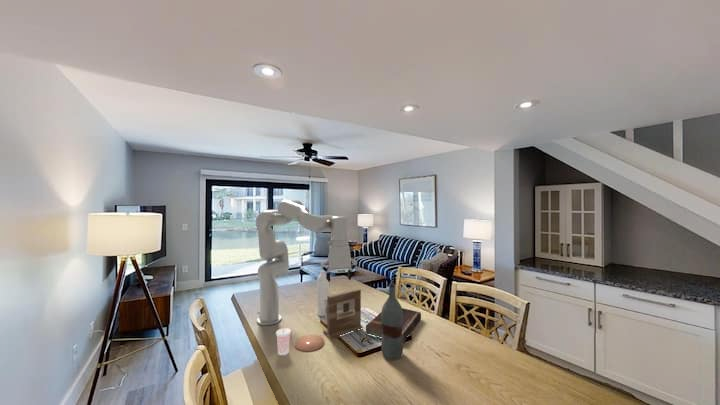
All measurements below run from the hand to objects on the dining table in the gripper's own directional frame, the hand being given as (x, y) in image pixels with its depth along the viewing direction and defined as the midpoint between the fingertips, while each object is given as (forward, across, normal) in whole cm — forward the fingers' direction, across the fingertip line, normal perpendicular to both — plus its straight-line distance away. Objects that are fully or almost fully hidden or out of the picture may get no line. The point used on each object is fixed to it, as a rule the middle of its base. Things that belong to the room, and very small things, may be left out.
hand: (339, 280), depth 127 cm
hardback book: (+29, +31, +6) cm, 43 cm away
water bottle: (+29, -2, +33) cm, 44 cm away
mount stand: (+28, +4, +9) cm, 30 cm away
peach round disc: (+29, -13, +2) cm, 32 cm away
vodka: (+29, +19, -17) cm, 38 cm away
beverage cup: (+29, -25, -2) cm, 38 cm away
